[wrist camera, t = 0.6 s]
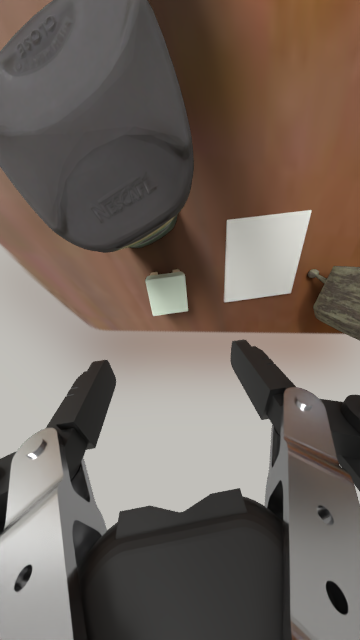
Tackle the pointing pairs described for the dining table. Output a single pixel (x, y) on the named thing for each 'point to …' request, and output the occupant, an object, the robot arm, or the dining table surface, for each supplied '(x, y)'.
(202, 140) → the dining table surface
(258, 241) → the mat
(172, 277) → the cube with two prongs
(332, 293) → the tabletop clock
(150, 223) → the coffee jar
